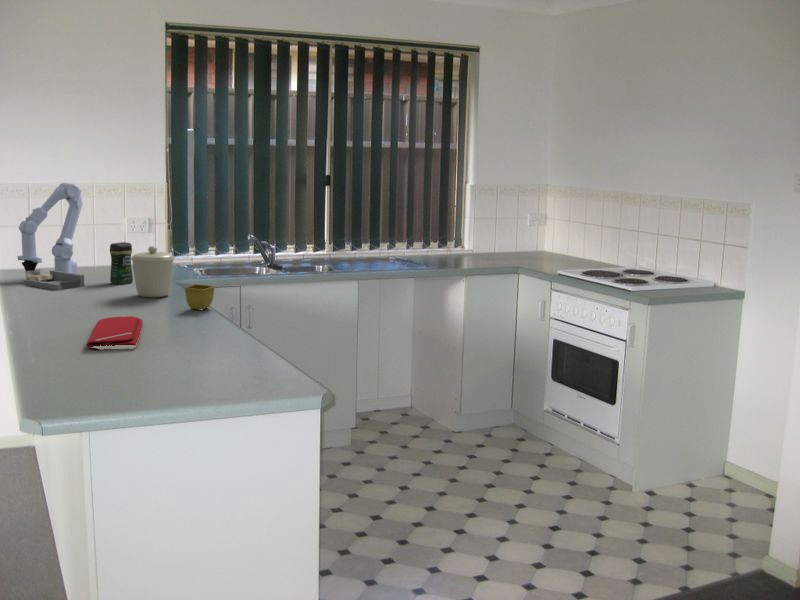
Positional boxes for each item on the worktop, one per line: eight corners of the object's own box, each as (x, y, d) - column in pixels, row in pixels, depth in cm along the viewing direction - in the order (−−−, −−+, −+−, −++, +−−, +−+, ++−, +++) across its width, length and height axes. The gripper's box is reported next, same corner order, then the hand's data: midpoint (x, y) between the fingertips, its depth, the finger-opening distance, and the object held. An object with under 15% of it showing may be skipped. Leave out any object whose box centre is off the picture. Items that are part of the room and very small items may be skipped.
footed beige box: (40, 280, 403) (39, 269, 403) (53, 281, 399) (52, 270, 398) (25, 282, 397) (24, 271, 396) (38, 283, 392) (37, 272, 392)
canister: (122, 296, 371) (120, 246, 367) (152, 290, 387) (151, 242, 383) (155, 301, 363) (153, 250, 359) (185, 294, 378) (183, 245, 375)
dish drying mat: (143, 323, 323) (143, 313, 323) (137, 350, 284) (137, 339, 283) (98, 325, 320) (97, 315, 319) (85, 352, 281) (85, 341, 280)
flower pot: (215, 308, 352) (215, 285, 351) (204, 312, 344) (204, 289, 342) (195, 306, 355) (195, 284, 353) (184, 310, 346) (184, 287, 345)
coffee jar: (119, 285, 397) (117, 244, 393) (107, 283, 401) (106, 242, 398) (136, 282, 405) (135, 242, 401) (124, 280, 409) (123, 240, 406)
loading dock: (54, 282, 404) (53, 270, 403) (84, 287, 393) (84, 274, 392) (27, 286, 392) (26, 274, 391) (57, 291, 381) (57, 278, 380)
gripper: (10, 246, 399) (12, 276, 401) (31, 249, 391) (33, 280, 394) (24, 245, 405) (26, 274, 407) (45, 248, 397) (46, 278, 400)
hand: (30, 277), depth 401 cm, fingers closed
